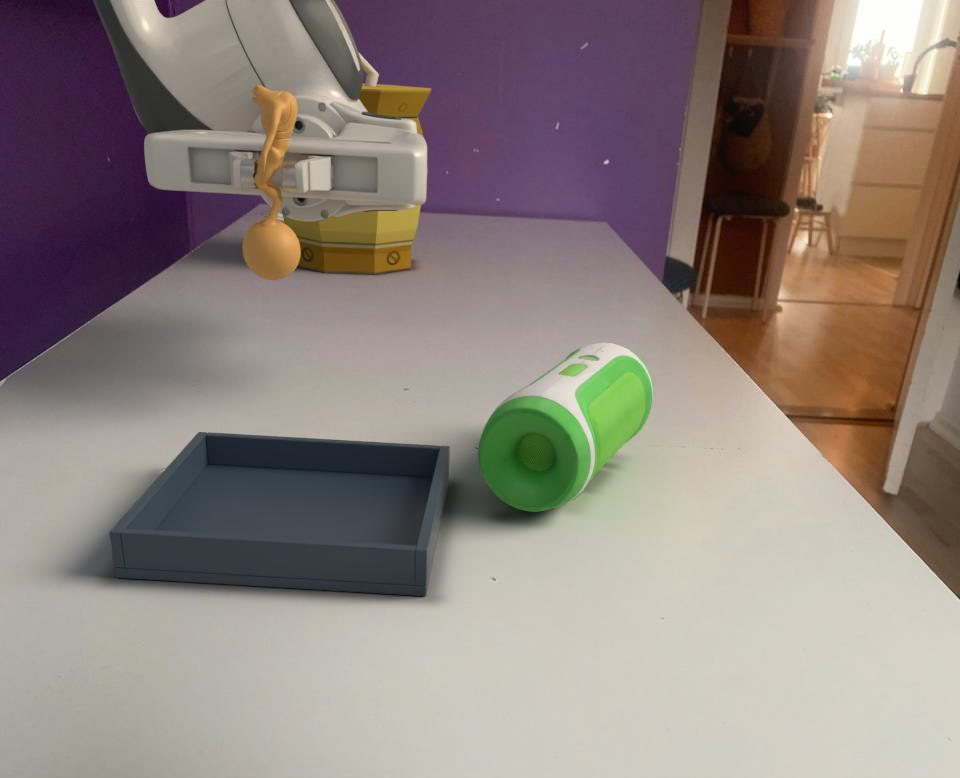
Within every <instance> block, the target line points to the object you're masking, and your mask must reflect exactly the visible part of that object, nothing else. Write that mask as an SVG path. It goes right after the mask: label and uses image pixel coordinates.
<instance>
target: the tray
mask: <svg viewBox="0 0 960 778" xmlns="http://www.w3.org/2000/svg"><path fill="white" fill-rule="evenodd" d="M450 449H451V446H450V445H435V444H419V443H418V444H417V443H416V444H415V443H401V442H399V443H398V442H382V441H380V442H379V441H368V440H367V441H366V440H365V441H364V440H347V439H330V438H315V437H313V438H312V437H295V436H277V435H261V434H260V435H259V434H245V433H244V434H241V433H225V432H206V431H198V432H197V433H196V435H194V437H192V439H191V440H190V441H189V442H188V443H187V444H186V445H185V447H183V448H182V450H181V451H180V452H179V454H177V456H176V457H175V458H174V459H173V460H172V461H171V462H170V463H169V464H168V466H166V468H165V469H164V470H163V471H162V473H160V475H158V477H157V478H156V479H155V480H154V481H153V483H151V485H149V487H148V488H147V489H146V490H145V491H144V492H143V493H142V495H141V496H140V497H139V498H138V499H137V500H136V502H134V503H133V505H132V506H131V507H130V509H128V510H127V511H126V513H125V514H124V515H123V516H122V517H121V518H120V519H119V520H118V522H117V523H116V524H115V525H114V526H113V527H112V528H111V529H110V530H109V532H108V534H109V541H110V549H111V554H112V561H113V567H114V568H113V569H114V577H115V579H116V578H117V579H130V580H131V579H133V580H151V581H167V582H182V583H183V582H184V583H198V584H214V585H215V584H216V585H218V584H219V585H231V586H232V585H233V586H234V585H235V586H251V587H267V588H282V589H283V588H284V589H285V588H286V589H299V590H314V591H332V592H350V593H368V594H383V595H399V596H401V595H402V596H416V597H426V596H427V594H428V589H429V584H430V580H431V579H430V578H431V574H432V569H433V563H434V558H435V554H436V549H437V543H438V540H439V539H438V538H439V534H440V529H441V523H442V519H443V513H444V510H445V509H444V508H445V504H446V503H445V502H446V498H447V493H448V488H449V480H450V477H449V476H450V454H451V453H450Z"/></svg>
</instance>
